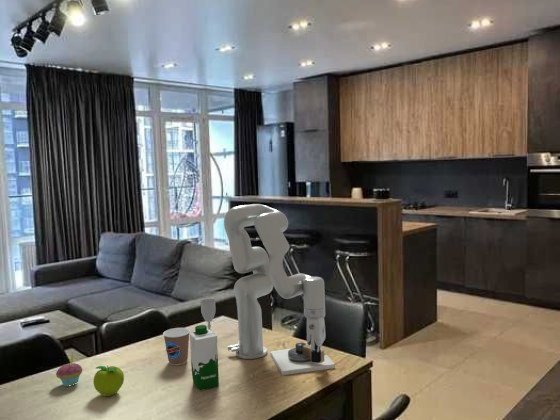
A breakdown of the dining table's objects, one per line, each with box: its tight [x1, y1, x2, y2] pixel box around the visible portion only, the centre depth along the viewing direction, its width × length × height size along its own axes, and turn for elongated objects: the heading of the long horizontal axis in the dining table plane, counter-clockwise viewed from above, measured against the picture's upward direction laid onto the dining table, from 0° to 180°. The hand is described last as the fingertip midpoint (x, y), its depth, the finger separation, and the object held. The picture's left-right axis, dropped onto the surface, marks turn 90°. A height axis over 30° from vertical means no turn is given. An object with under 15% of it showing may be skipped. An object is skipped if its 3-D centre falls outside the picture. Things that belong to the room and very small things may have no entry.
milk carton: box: [189, 324, 220, 391], centre depth 163 cm, size 9×9×20 cm
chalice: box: [199, 298, 217, 331], centre depth 206 cm, size 7×7×18 cm
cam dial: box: [288, 342, 325, 363], centre depth 179 cm, size 16×10×5 cm, turn 43°
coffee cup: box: [162, 327, 191, 366], centre depth 185 cm, size 10×10×12 cm
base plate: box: [269, 347, 336, 376], centre depth 181 cm, size 20×20×2 cm
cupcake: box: [55, 351, 83, 387], centre depth 169 cm, size 9×8×12 cm
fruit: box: [93, 365, 125, 397], centre depth 159 cm, size 9×9×10 cm
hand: (316, 361), depth 170 cm, fingers closed
